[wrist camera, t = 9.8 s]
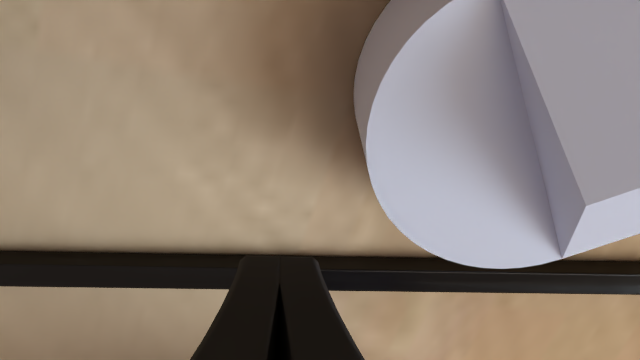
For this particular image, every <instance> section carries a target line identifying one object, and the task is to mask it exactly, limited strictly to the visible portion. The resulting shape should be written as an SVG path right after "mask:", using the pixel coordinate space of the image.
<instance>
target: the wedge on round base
mask: <svg viewBox="0 0 640 360" xmlns="http://www.w3.org/2000/svg"><path fill="white" fill-rule="evenodd" d="M354 109H355V117H356V121H357V125H358V129H359V134H360V138H361V142H362V146H363V150H364V155H365V159H366V163H367V167H368V171H369V176H370V180H371V184H372V187H373V189H374V192H375V194H376V197H377V199H378V201H379V203H380V205H381V206H382V208H383V210H384V211H385V213H386V215H387V216H388V218H389V219H390V220H391V221H392V222H393V223H394V225H395V226H396V227H397V228H398V229H399V230H400V231H401V232H402V233H403V234H404V235H405V236H407V237H408V238H409V239H410V240H411V241H412V242H414V243H415V244H417V245H418V246H420V247H422V248H423V249H425V250H426V251H428V252H430V253H432V254H434V255H437V256H439V257H441V258H443V259H446V260H449V261H452V262H456V263H459V264H463V265H468V266H474V267H480V268H494V269H508V268H523V267H529V266H535V265H541V264H545V263H549V262H552V261H556V260H560V259H563V258H566V257H569V256H572V255H575V254H578V253H582V252H585V251H588V250H591V249H594V248H597V247H600V246H603V245H606V244H609V243H612V242H615V241H618V240H621V239H624V238H628V237H631V236H634V235H637V234H640V0H391V1H390V2H389V3H388V4H387V5H386V7H385V8H384V10H383V11H382V13H381V14H380V15H379V17H378V18H377V20H376V21H375V23H374V25H373V27H372V29H371V31H370V33H369V35H368V37H367V38H366V40H365V43H364V46H363V49H362V51H361V54H360V57H359V60H358V65H357V70H356V74H355V81H354Z"/></svg>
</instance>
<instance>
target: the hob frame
mask: <svg viewBox="0 0 640 360" xmlns="http://www.w3.org/2000/svg"><path fill="white" fill-rule="evenodd" d="M245 256H246V255H210V254H152V253H94V252H37V251H0V286H23V287H99V288H176V289H230V287H231V285H232V283H233V280H234V278H235V275H236V272H237V269H238V266H239V262H240V260H241V259H242V258H244V257H245ZM251 256H268V255H251ZM292 257H313V258H314V259H315V260H316V261H317V262H318V263H319V267H320V270H321V273H322V276H323V279H324V281H325V284H326V286H327V289H328V291H404V292H480V293H556V294H632V295H640V262H616V261H558V260H556V261H552V262H549V263H545V264H541V265H535V266H529V267H523V268H508V269H494V268H480V267H474V266H468V265H463V264H459V263H456V262H452V261H449V260H446V259H442V258H384V257H326V256H292Z"/></svg>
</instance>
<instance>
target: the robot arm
mask: <svg viewBox="0 0 640 360" xmlns="http://www.w3.org/2000/svg"><path fill="white" fill-rule="evenodd" d="M190 360H365V359H364V358H363V356H362V354H361V353H360V351H359V349H358V348H357V346H356V344H355V342H354V341H353V339H352V337H351V335H350V333H349V331H348V330H347V328H346V326H345V324H344V322H343V320H342V319H341V317H340V315H339V313H338V311H337V309H336V306H335V304H334V302H333V300H332V298H331V296H330V293H329V291H328V289H327V286H326V284H325V281H324V279H323V276H322V273H321V270H320V267H319V263H318V262H317V261H316V260H315V259H314V258H313V257H292V256H251V255H246V256H245V257H244V258H242V259H241V260H240V262H239V266H238V269H237V272H236V275H235V278H234V280H233V283H232V285H231V287H230V289H229V292H228V294H227V296H226V298H225V300H224V302H223V304H222V306H221V308H220V310H219V312H218V313H217V315H216V317H215V319H214V321H213V323H212V324H211V326H210V328H209V330H208V332H207V333H206V335H205V337H204V339H203V340H202V342H201V343H200V345H199V347H198V348H197V350H196V351H195V353H194V354H193V356H192V357H191V359H190Z"/></svg>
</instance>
